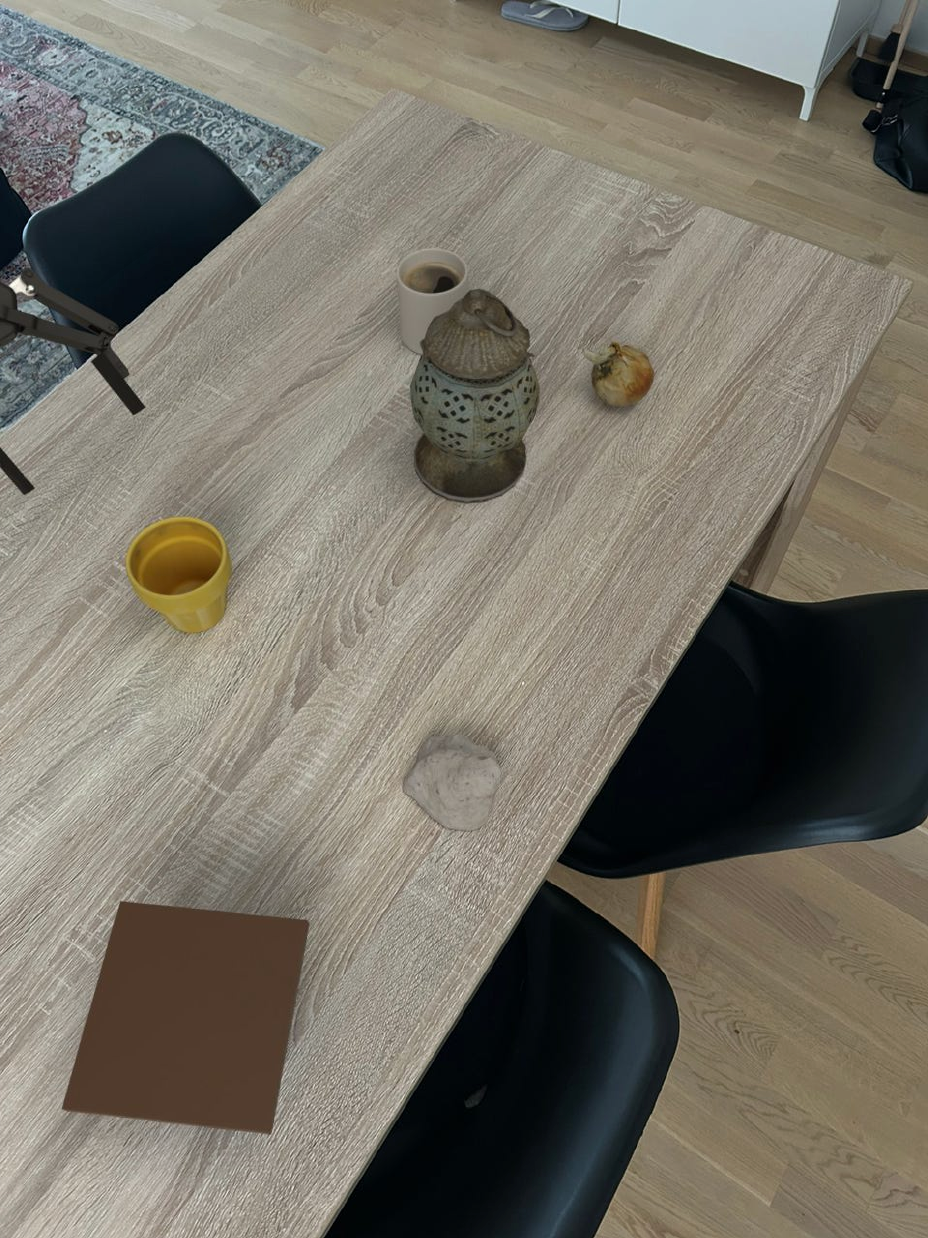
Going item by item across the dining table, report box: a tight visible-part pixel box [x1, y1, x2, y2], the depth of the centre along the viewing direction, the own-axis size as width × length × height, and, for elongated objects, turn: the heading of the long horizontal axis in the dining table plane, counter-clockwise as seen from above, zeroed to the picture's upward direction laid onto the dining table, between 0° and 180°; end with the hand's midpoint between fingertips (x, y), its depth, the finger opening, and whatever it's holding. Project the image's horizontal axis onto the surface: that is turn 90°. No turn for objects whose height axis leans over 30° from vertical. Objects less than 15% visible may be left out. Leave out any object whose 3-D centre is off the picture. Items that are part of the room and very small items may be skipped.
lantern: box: [409, 288, 541, 504], centre depth 114 cm, size 14×14×25 cm
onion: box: [582, 341, 655, 407], centre depth 127 cm, size 8×8×8 cm
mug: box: [395, 247, 469, 356], centre depth 133 cm, size 11×10×10 cm
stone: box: [402, 734, 503, 832], centre depth 101 cm, size 10×5×10 cm
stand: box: [61, 900, 310, 1136], centre depth 86 cm, size 16×16×9 cm
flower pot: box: [124, 515, 233, 634], centre depth 110 cm, size 10×10×10 cm
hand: (86, 451), depth 103 cm, fingers open, 13 cm apart
